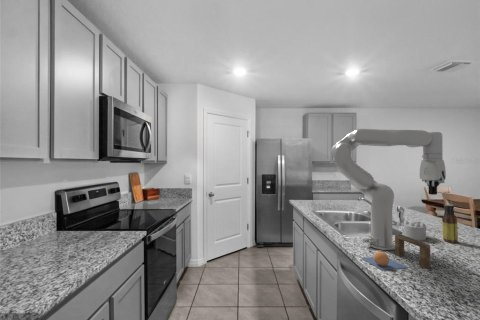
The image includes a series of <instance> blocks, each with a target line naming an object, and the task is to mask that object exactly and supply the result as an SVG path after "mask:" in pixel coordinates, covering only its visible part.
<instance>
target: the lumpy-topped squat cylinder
mask: <svg viewBox="0 0 480 320" xmlns="http://www.w3.org/2000/svg"><path fill="white" fill-rule="evenodd" d="M403 235H404V236H407V237H409V238H412V239H415V240H418V241H425V240H427V226H426V223H424V222H421V221H418V220H417V221H416V220H404V222H403Z"/></svg>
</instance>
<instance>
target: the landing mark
mask: <svg viewBox="0 0 480 320" xmlns="http://www.w3.org/2000/svg"><path fill="white" fill-rule="evenodd" d="M361 260H363V261H365V262H367V263H368V264H370V265H372V266H374V267H375V268H377V269H378V270H380V271H389V270H399V269H400V270H402V269H408V267H407V266H406V265H404V264H402V263H399V262H398V261H395V260H393V259H391V258H389V263H388V264H387V265H385V266H380V265H378V264H377V263H376V262H375V260H374V256H368V257H361Z"/></svg>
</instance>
